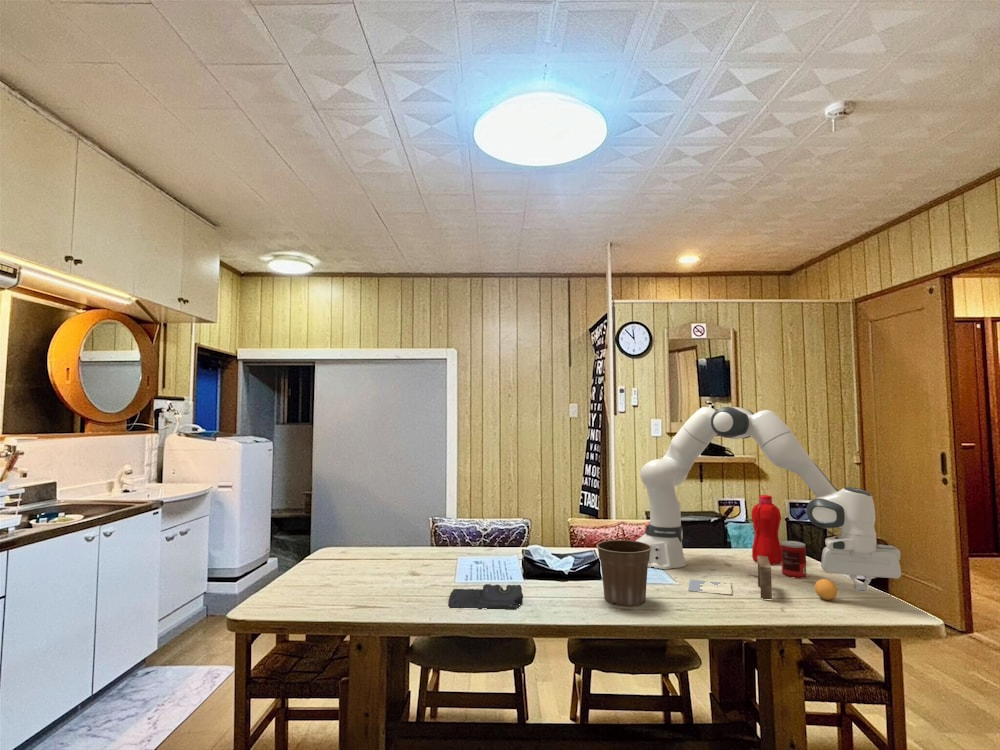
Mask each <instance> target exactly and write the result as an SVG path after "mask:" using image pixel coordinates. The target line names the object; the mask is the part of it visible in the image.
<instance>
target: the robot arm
mask: <svg viewBox="0 0 1000 750" xmlns="http://www.w3.org/2000/svg"><path fill="white" fill-rule="evenodd" d="M716 436H720V437H722V438H725V439H733V440H739V439H742V440H743V439H749V438H751V439H754V441H755V442H756V444H757V445H758V446H759V447H760V449H761V451H762V452H763V453H764V455H765V457H767V459H768V460H769V461H770V462H771V463H772V464H773V465H774V466H776V467H778V468H782V469H784V470H787V471H789V472H792V473H793V474H795V475H797V476H798V477H800V478H801V479H802V481H803V482H804V483H805V485H807V487H808V488H809V490H810V491H811V492H812V493H813V495H814V496H815V497H816V498H813V499H812V500H810V501H809V502H808V504H807V505H806V509H805V513H806V517H807V519H808V520H809V522H810V523H811V524H813V526H815V527H817V528H822V529H832V528H833V529H834V528H839V529H840V530H841V534H839V535H835V536H830V537H826V538H825V539H824V542H825V547H824V548H823V549H822V552H821V553H822V554H821V562H820V563H821V564H820V565H821V566H820V567H821V569H822V571H824V573H826V574H836V575H848V576H849V578H850V579H851V580H852V581H853V583H854V590H855V591H857V592H858V591H859V592H868V586H869V584H870V583H871V581H872V577H873V578H883V579H884V578H886V579H887V578H888V579H897V580H899V579H900V577H902V571H901V570H902V568H901V565H900V560H901V550H900V549H899V548H898V547H896V546H894V545H891V544H889V545H887V544H881V543H880V544H877V532H876V528H875V522H876V511H875V509H876V508H875V503H874V498H873V496H872V494H871V493H870V492H869V491H867V490H864V489H862V488H859V487H851V486H849V487H842V488H841V489H837V488H836V487H835V485H833V483H832V482H831V480H829V478H828V477H827V476H826V474H825V473H824V472H823V471H822V469H821V468H820V467H819V466H818V465H817V464H816V463H815V461H814V460H813V459H812V458H811V457H810V455H809V454H808V453H807V451H806V450H805V449H804V447H803V446H802V444H801V443H800V442H799V440H798V438H797V437H796V436H795V434H794V433H793V432H792V431H791V428H790V427H788V425H787V424H786V423H785V422H784V421H783V420H782V418H780V417H779V416H778V414H777V413H775V412H774V411H772V410H770V409H763V410H759V411H757V412H755V413H754V412H753V411H751V410H750V409H746V408H742V407H738V406H733V407H731V406H723V407H721V408H718V409H715V408H712V407H709V406H703V407H700V408H698V409H697V410H696V411H695V412H694V413H693V414H692V415H691V416H690V417H688V419H687V420H686V421H685V423H684V424H683V425H682V426H681V427H680V428H679V430H678V431H677V433H676V434H675V435H674V437H673V438H672V439H671V440H670V445H669V448H668V449H667V451H666V453H665V454H664V455H663V456H662V457H661V458H656V459H652V460H649V461H648V462H647V463H645V464H644V465H643V466H642V467H641V470H640V479H641V482H642V483H643V484H644V485H645V488H646V491H647V493H646V494H647V497H648V501H649V520H650V522H647V523H645V524H644V534H642V536H640V537H639V538H638V539H635V541H638V542H642V543H646V544H648V545H650V546H651V547H652V549H651V550H650V557H649V562H648V568H651V567H654V568H653V569H658V568H659V569H660V570H670V569H678V568H683V567H685V566H686V565H687V562H686V559H685V555H684V551H683V543H682V542H683V537H684V536H683V535H684V534H683V526H682V522H681V517H682V516H681V512H682V511H681V509H682V508H681V504H680V503H681V502H679V500H678V497H677V494H676V486H679V485H681V484H682V483H683V482H684V481H686V479H687V478H688V474H689V473H690V470H691V469H692V467H693V465H694V463H695V462H696V460H697V459H698V458H699V456H701V454H702V453H703V452H704V451H705V449H706V448H707V447H708V446H709V444H710V443H711V442H712V440H713V439H714V438H716ZM858 576H859V577H864V579H865V580H864V582H863V583H859V582H858V581H857V580H858Z"/></svg>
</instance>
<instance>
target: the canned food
mask: <svg viewBox="0 0 1000 750" xmlns="http://www.w3.org/2000/svg"><path fill="white" fill-rule="evenodd" d="M780 546H781V556H782V562H781V572H782V575H783V576H784V575H785V577H787V576H788V578H791V577H795V578H794V579H803V578H802V577H805V578H806V576H807V549H806V547H807V546H806V543H805V542H804V543H803V542H802V541H801V542H800V541H795V540H782V541H781V542H780Z"/></svg>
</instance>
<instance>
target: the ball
mask: <svg viewBox="0 0 1000 750" xmlns="http://www.w3.org/2000/svg"><path fill="white" fill-rule="evenodd" d="M814 590H815V593H816V595H817V596H818V597H819V598H820V599H822V600H825V599H826V601H831V600H833V599H835V598H836V597H837V595H838V587H837V585H836V584H835V582H833V581H832V580H831V579H828V578H822V579H818V580H817V581H816V583H815V585H814Z"/></svg>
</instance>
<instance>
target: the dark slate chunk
mask: <svg viewBox="0 0 1000 750" xmlns="http://www.w3.org/2000/svg"><path fill="white" fill-rule="evenodd" d="M523 599H524V594H523V588H522V585H520V584H507V585H506V587H505V589H504V588H503V587H502V586H501V585H500V584H493V585H492V584H489V583H486V584H484V585H483V586H482V589H481V588H480V589H479V588H475V589H474V588H453V589H452V591H451V592H450V594H449V598H448V607H449V608H478V609H477V610H482V608H487V609H505V610H504V611H517V610H518V609H520V608H521V605H522V604H523ZM521 603H522V604H521ZM519 604H520V605H519ZM519 607H520V608H519ZM517 608H518V609H517ZM487 609H486V610H487ZM516 609H517V610H516Z"/></svg>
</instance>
